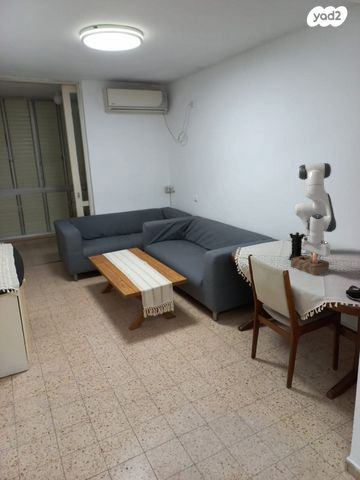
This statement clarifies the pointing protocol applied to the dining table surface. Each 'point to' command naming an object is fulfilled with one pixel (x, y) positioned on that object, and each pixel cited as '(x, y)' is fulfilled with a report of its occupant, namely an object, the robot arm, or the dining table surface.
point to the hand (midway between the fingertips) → (315, 259)
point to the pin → (315, 258)
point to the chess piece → (296, 245)
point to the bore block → (309, 265)
